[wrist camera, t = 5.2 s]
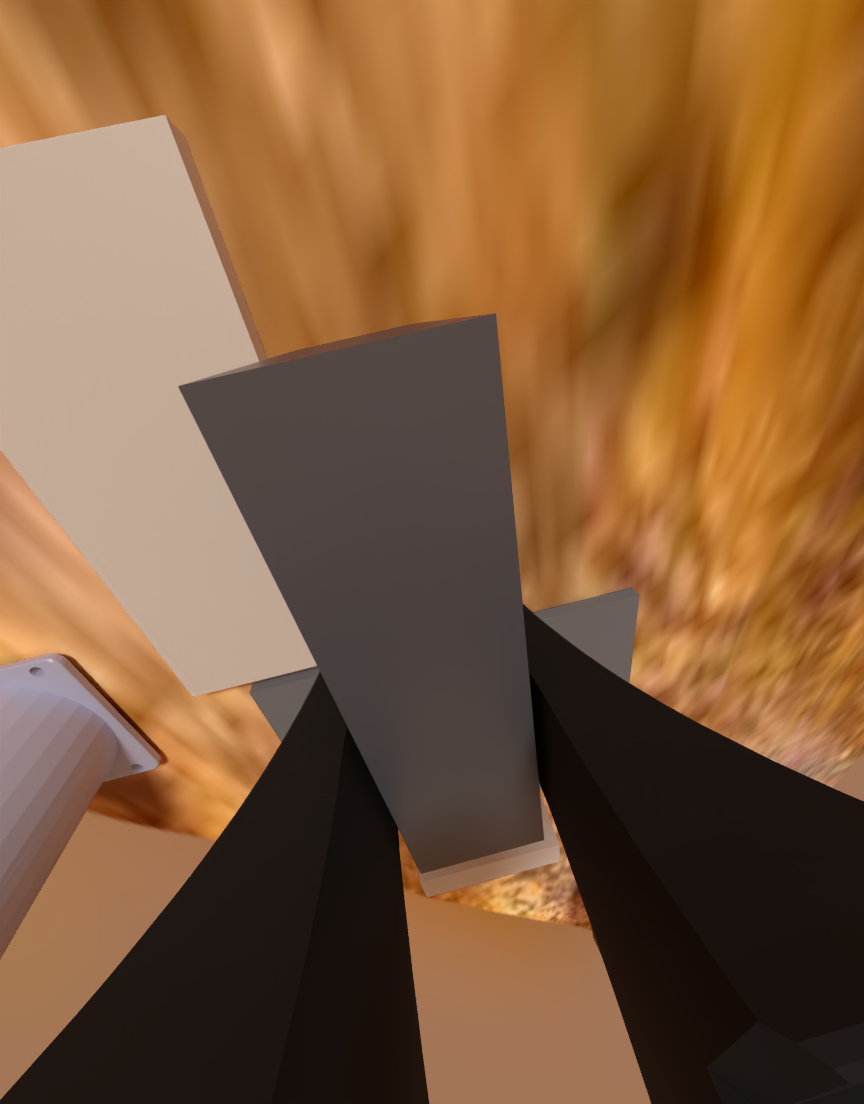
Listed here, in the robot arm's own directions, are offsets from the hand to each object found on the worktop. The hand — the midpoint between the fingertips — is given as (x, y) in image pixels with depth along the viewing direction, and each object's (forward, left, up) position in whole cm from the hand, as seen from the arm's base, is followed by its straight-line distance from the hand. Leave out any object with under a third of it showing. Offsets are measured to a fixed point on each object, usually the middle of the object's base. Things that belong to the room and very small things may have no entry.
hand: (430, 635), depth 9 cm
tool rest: (-7, +3, -7) cm, 10 cm away
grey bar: (0, -1, -3) cm, 3 cm away
